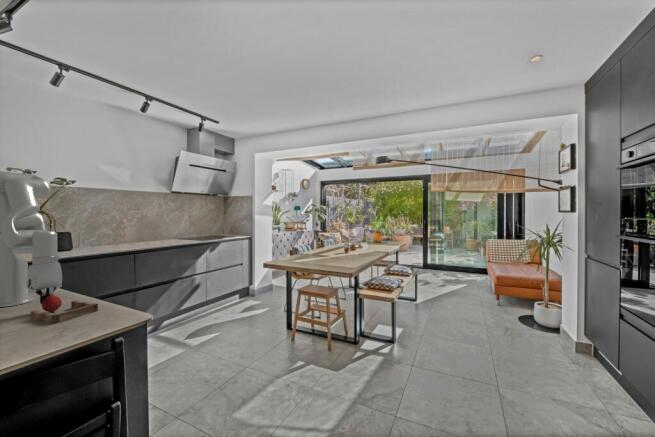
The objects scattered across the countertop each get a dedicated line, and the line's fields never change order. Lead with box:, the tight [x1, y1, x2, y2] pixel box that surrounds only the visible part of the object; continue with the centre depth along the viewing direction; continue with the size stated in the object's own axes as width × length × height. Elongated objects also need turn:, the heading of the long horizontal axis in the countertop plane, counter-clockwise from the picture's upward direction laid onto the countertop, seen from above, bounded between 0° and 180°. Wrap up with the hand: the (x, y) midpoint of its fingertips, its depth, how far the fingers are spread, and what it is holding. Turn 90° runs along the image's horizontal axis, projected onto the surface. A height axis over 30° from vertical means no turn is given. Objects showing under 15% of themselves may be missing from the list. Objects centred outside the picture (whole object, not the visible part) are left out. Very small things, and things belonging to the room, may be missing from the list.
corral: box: [30, 300, 99, 325], centre depth 116 cm, size 14×15×3 cm
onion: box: [41, 292, 63, 314], centre depth 118 cm, size 6×6×8 cm
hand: (45, 304), depth 120 cm, fingers closed
